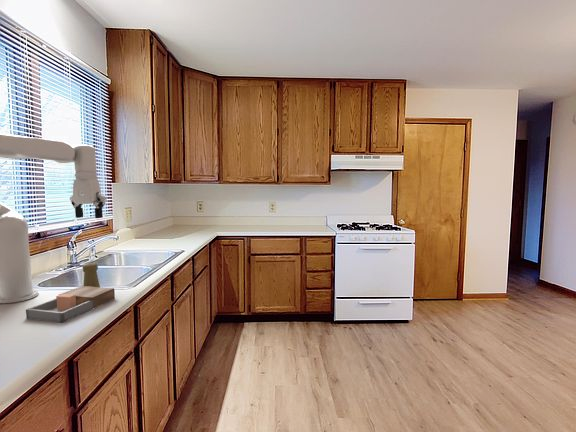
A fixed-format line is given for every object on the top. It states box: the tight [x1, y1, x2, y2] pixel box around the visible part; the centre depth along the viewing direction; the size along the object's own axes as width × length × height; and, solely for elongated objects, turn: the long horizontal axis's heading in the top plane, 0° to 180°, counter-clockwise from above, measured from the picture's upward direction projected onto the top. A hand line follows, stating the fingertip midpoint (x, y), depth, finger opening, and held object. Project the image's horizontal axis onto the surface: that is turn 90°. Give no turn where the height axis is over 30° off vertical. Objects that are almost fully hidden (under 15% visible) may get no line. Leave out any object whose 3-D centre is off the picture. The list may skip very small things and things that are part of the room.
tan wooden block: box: [58, 285, 116, 309], centre depth 119 cm, size 14×10×4 cm
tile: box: [55, 293, 76, 311], centre depth 110 cm, size 5×5×2 cm
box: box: [25, 298, 93, 324], centre depth 109 cm, size 14×12×3 cm
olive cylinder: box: [82, 262, 101, 287], centre depth 132 cm, size 6×6×11 cm
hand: (89, 217), depth 137 cm, fingers open, 9 cm apart
